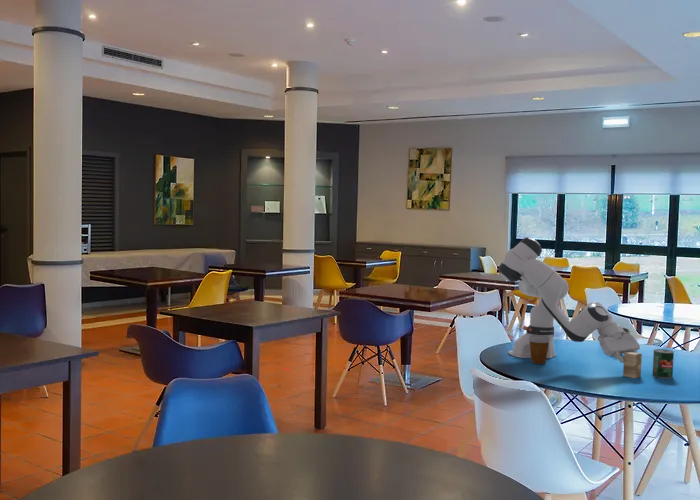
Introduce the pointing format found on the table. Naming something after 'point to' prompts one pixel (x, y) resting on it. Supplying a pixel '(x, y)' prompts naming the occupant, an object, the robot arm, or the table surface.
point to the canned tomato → (663, 363)
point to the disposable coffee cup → (539, 348)
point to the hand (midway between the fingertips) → (630, 361)
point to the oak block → (632, 364)
